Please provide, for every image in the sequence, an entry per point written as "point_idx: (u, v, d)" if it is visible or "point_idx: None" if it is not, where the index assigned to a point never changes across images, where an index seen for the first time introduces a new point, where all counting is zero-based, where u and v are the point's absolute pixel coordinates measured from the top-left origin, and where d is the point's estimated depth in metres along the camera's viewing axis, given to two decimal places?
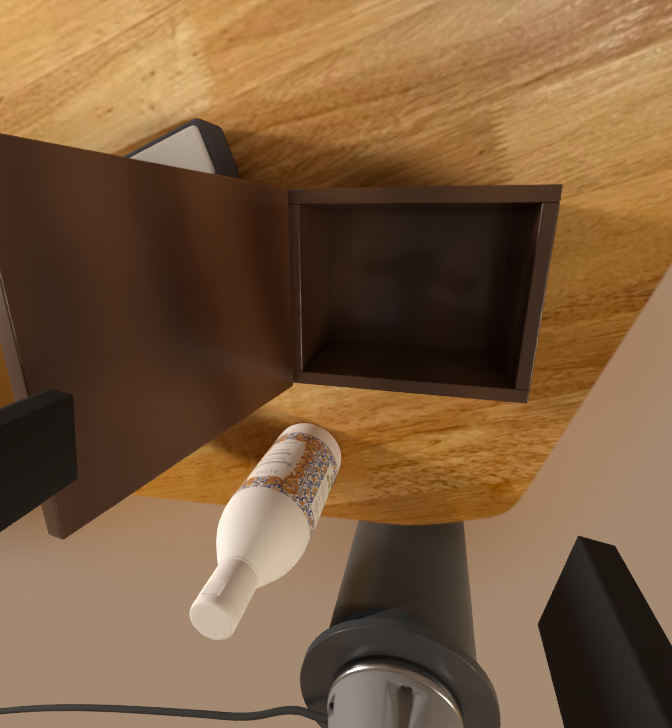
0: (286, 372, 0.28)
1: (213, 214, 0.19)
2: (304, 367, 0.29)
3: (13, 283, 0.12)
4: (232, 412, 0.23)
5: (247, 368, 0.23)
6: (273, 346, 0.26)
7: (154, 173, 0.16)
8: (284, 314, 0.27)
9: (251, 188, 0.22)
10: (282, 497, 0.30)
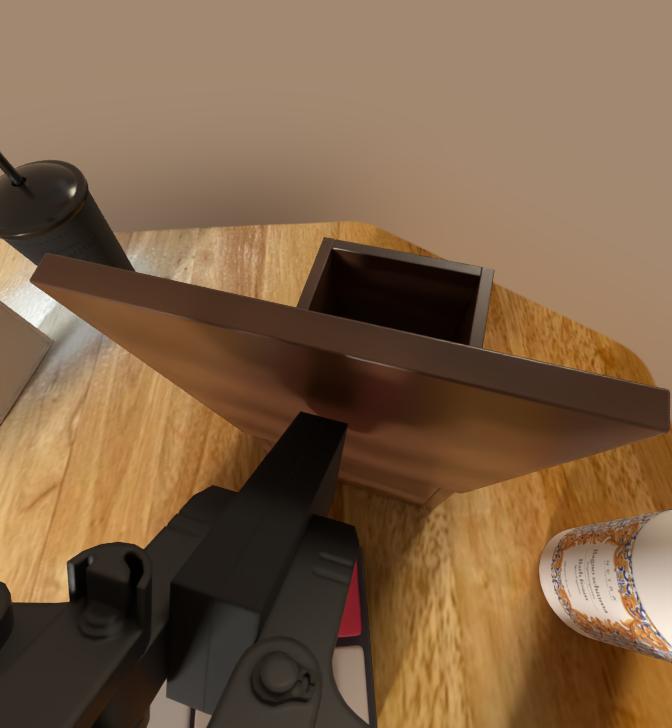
0: None
1: None
2: None
3: None
4: None
5: None
6: None
7: None
8: None
9: None
10: (644, 533, 0.20)
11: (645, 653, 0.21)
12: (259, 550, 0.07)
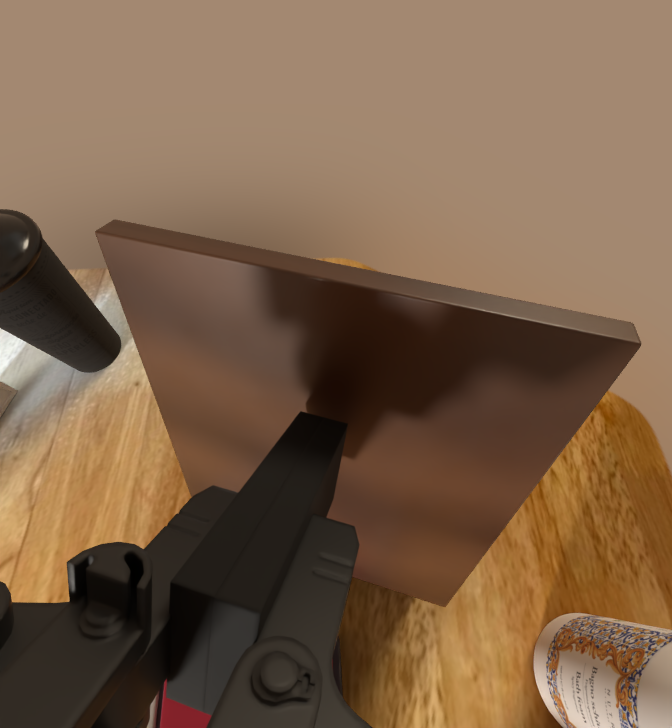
0: None
1: None
2: None
3: None
4: None
5: None
6: None
7: None
8: None
9: None
10: (651, 671, 0.17)
11: None
12: (259, 550, 0.07)
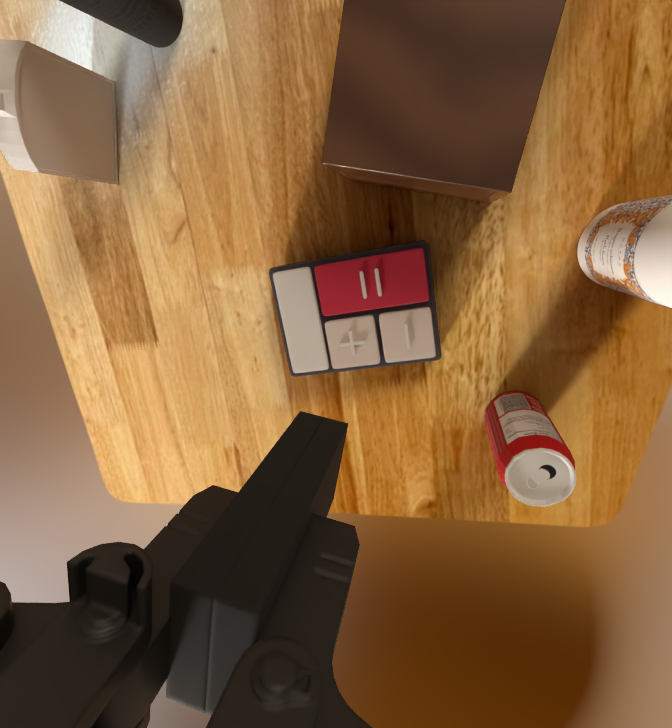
0: None
1: None
2: None
3: None
4: None
5: None
6: None
7: None
8: None
9: None
10: (658, 217, 0.24)
11: (635, 296, 0.30)
12: (259, 550, 0.07)
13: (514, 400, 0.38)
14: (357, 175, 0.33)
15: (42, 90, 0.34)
